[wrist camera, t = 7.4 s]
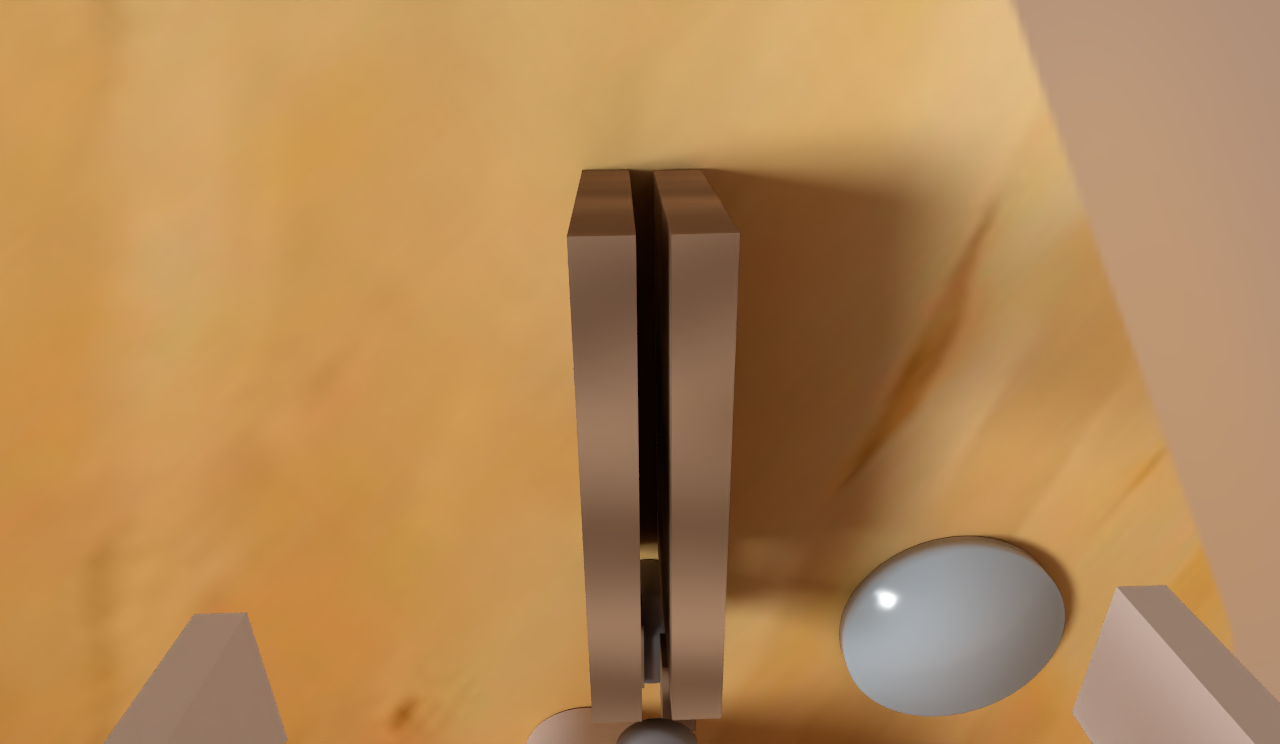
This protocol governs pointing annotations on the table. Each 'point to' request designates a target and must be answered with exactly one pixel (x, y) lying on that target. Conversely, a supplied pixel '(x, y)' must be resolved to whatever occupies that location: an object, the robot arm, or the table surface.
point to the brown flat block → (613, 461)
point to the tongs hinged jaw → (693, 434)
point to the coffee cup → (576, 729)
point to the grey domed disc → (951, 626)
